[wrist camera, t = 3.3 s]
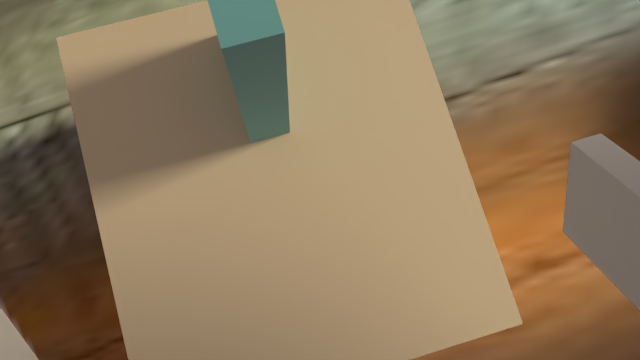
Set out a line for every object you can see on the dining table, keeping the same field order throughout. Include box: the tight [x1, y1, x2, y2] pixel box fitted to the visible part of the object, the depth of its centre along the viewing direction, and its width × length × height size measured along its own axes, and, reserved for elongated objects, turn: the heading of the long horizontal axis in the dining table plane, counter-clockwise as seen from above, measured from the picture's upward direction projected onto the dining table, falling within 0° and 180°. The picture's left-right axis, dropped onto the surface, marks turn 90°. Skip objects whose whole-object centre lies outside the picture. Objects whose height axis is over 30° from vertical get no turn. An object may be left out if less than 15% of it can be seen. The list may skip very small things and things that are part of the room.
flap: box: [56, 0, 523, 360], centre depth 23 cm, size 20×18×12 cm
